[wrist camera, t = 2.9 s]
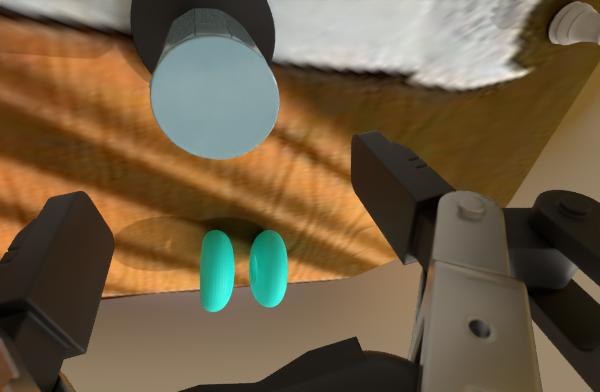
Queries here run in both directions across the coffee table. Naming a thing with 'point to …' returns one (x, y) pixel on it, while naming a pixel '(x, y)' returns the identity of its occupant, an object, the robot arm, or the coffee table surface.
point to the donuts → (262, 269)
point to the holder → (173, 3)
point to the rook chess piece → (575, 24)
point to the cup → (213, 87)
